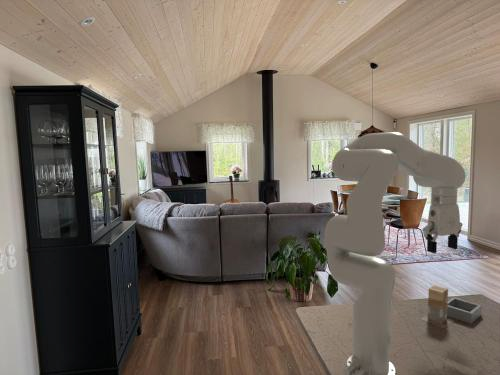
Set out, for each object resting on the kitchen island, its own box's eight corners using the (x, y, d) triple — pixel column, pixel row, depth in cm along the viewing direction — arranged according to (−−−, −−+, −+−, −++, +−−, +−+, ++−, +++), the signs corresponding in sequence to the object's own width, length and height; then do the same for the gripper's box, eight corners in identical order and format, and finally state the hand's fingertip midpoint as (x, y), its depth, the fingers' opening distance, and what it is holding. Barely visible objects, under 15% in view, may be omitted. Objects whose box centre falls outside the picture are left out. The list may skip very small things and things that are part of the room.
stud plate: (444, 332, 115) (445, 316, 114) (419, 323, 121) (420, 307, 120) (454, 324, 120) (455, 308, 119) (430, 316, 126) (430, 301, 125)
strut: (441, 324, 117) (442, 292, 116) (427, 319, 120) (428, 288, 119) (446, 320, 120) (448, 288, 118) (433, 315, 123) (434, 285, 122)
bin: (471, 327, 117) (471, 313, 117) (442, 318, 124) (442, 304, 123) (480, 319, 123) (481, 305, 122) (452, 310, 130) (453, 297, 129)
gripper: (434, 204, 111) (433, 257, 113) (472, 199, 117) (470, 249, 119) (415, 201, 117) (414, 251, 120) (452, 196, 124) (450, 244, 126)
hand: (442, 250), depth 119 cm, fingers open, 9 cm apart
